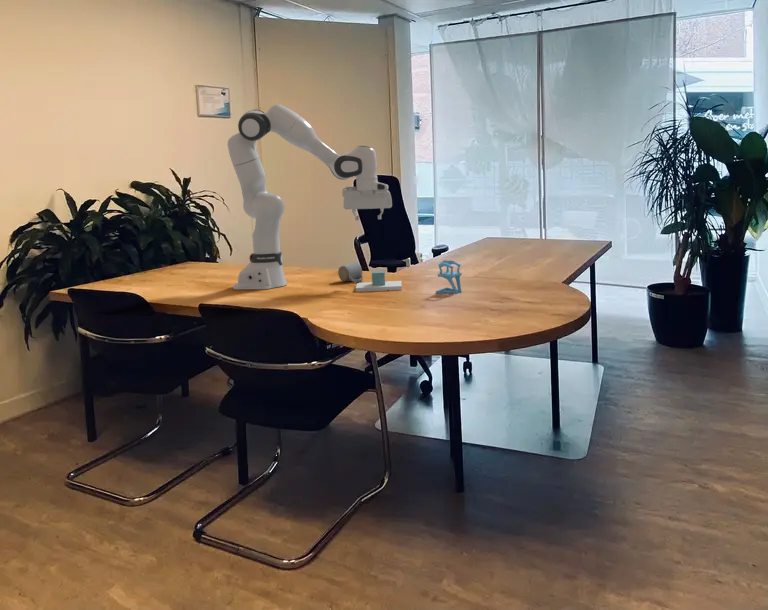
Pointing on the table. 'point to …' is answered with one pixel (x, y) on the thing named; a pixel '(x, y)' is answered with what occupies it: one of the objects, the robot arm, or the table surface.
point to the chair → (450, 277)
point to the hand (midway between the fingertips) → (368, 219)
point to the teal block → (378, 278)
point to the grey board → (388, 286)
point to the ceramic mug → (350, 272)
